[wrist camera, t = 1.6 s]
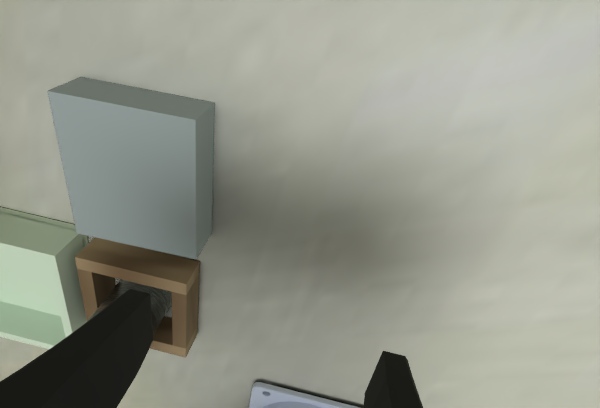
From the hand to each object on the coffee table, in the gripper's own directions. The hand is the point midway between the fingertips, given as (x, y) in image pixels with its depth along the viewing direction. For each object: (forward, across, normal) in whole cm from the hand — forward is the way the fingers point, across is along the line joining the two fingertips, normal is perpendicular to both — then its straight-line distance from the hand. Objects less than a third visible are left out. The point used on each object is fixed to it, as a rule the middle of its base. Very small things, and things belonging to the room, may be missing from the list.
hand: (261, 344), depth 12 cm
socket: (+8, +8, +8) cm, 14 cm away
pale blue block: (+9, +8, 0) cm, 12 cm away
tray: (+8, +16, +9) cm, 20 cm away
